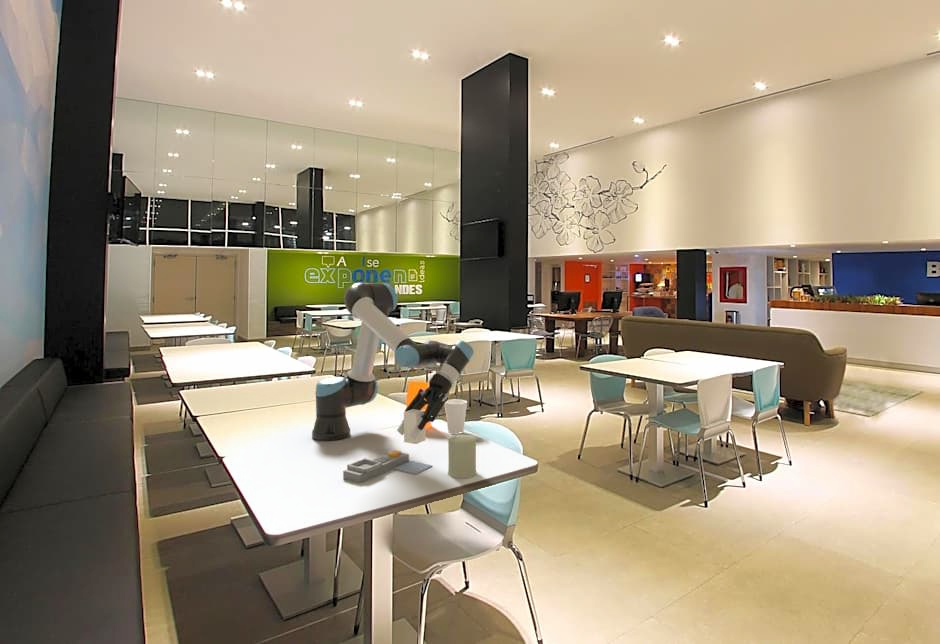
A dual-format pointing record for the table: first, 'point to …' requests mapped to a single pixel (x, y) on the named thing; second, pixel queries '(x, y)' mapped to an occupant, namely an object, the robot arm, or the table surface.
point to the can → (462, 456)
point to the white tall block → (409, 423)
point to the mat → (413, 467)
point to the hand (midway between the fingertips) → (405, 434)
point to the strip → (374, 466)
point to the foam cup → (455, 415)
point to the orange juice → (413, 391)
